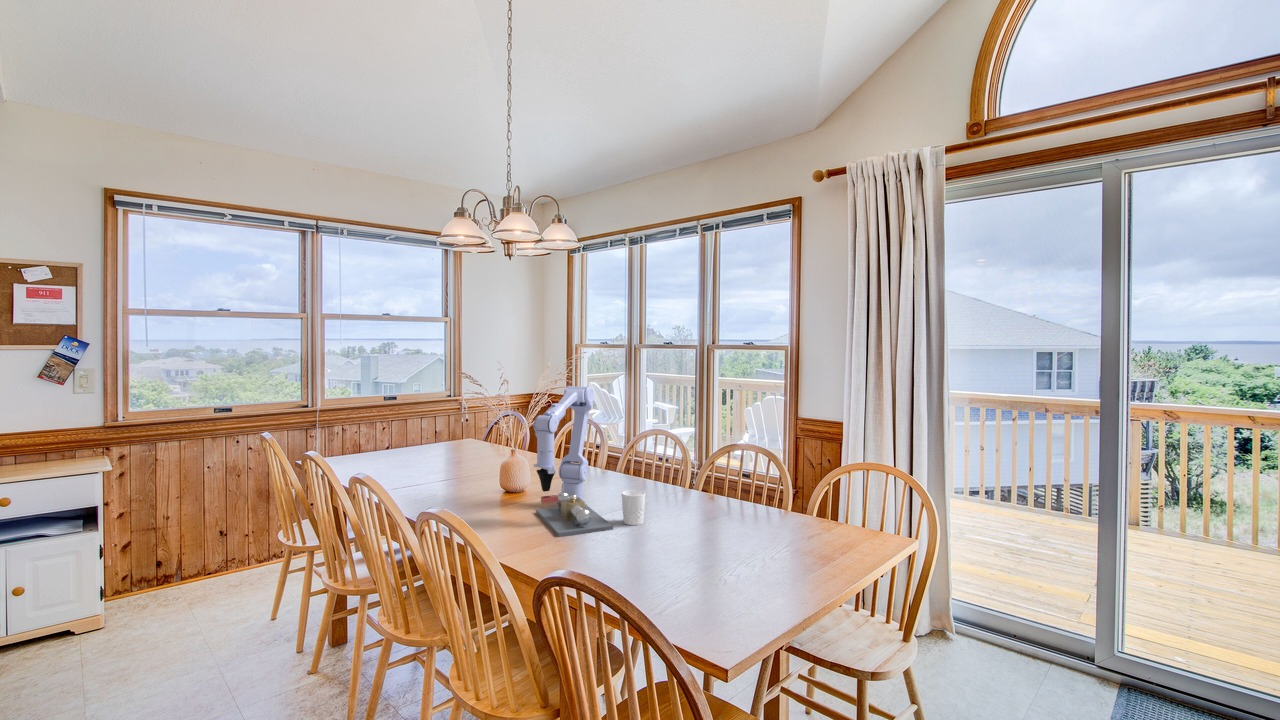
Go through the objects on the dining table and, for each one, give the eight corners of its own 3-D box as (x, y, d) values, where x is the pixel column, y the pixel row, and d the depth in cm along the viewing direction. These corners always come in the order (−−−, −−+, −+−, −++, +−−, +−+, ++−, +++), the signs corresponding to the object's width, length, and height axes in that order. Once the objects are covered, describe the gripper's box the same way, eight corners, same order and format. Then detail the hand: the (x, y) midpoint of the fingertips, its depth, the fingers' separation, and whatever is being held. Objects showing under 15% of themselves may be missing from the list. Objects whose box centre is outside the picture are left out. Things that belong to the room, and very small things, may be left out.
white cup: (645, 526, 189) (645, 495, 189) (621, 526, 189) (621, 495, 189) (645, 519, 197) (645, 489, 196) (622, 518, 197) (622, 489, 197)
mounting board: (536, 512, 204) (536, 509, 204) (584, 506, 211) (584, 503, 211) (558, 537, 178) (558, 533, 178) (612, 529, 186) (612, 525, 185)
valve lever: (575, 497, 196) (575, 492, 196) (577, 499, 194) (577, 494, 194) (540, 501, 191) (540, 496, 191) (542, 503, 189) (542, 498, 189)
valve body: (553, 508, 204) (553, 492, 204) (570, 506, 207) (570, 490, 207) (574, 529, 182) (574, 510, 182) (594, 526, 185) (594, 507, 184)
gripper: (529, 448, 200) (529, 487, 200) (539, 455, 186) (539, 497, 187) (548, 446, 203) (549, 485, 203) (560, 453, 189) (560, 494, 190)
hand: (545, 490), depth 195 cm, fingers closed
